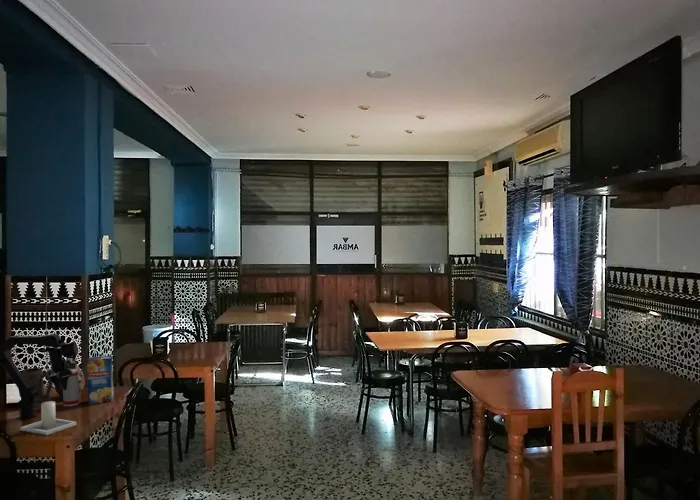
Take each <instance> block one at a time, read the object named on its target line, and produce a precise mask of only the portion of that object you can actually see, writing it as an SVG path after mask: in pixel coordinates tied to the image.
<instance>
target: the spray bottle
mask: <svg viewBox="0 0 700 500" xmlns="http://www.w3.org/2000/svg"><path fill="white" fill-rule="evenodd" d="M68 361H70V362H71V363H73V362H72V358H68ZM67 369H69V368H67ZM70 370H72V374H71V376H70V377H69V378H68V382H67V389H66V390H64V389H63V400H62V403H63V407H74V406H78V405H79V404H80V396H79V395H80V394H79V384H78V370H76V369H70Z"/></svg>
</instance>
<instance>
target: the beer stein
mask: <svg viewBox="0 0 700 500" xmlns="http://www.w3.org/2000/svg"><path fill="white" fill-rule="evenodd" d="M21 374H22V376H23V377H24V379H25V380H26V382H27V383H28V384H29V385H31V386H32V385H33V384H34V385H35V387H36V389H37V390H39V391H37V392H38V394H39V395H38V398H37V399H36V400H35V402H34V403H33V409H35V408H39V407H40V408H41V403H43V402H45V401H44V400H50V399H51V398H52V396H51V395H50V394H51V391H52V389H53V382H52V381H51V380H50V379H49V378H48V377H49V376H47V375H46V372H45V373H44V372H43V368H39V367H33V368H25V369H23V370H22V372H21ZM44 378H46V379H47V389H46V393H45V388H44V387H45V386H44V385H45V384H44Z"/></svg>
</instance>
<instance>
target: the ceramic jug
mask: <svg viewBox="0 0 700 500" xmlns="http://www.w3.org/2000/svg"><path fill="white" fill-rule="evenodd" d="M76 346H77V347H78V345H77V344H76ZM68 358H72V362H73V363H76V358H77V355H75V356H69V357H66V360H68ZM75 369H76V370H78V384H79V395H80V393H82V391H83V389H84V388H85V385H86V381H85V376H84V373H83V371H82V370H81V368H80V366H79V365H78V364H77V363H76V367H75ZM54 389H55V392H56V394H58V396H59V398H60V400H62V401H63V387H62V386H61V384H60V388H59V389H57V388H56V386H55V385H54Z"/></svg>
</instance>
